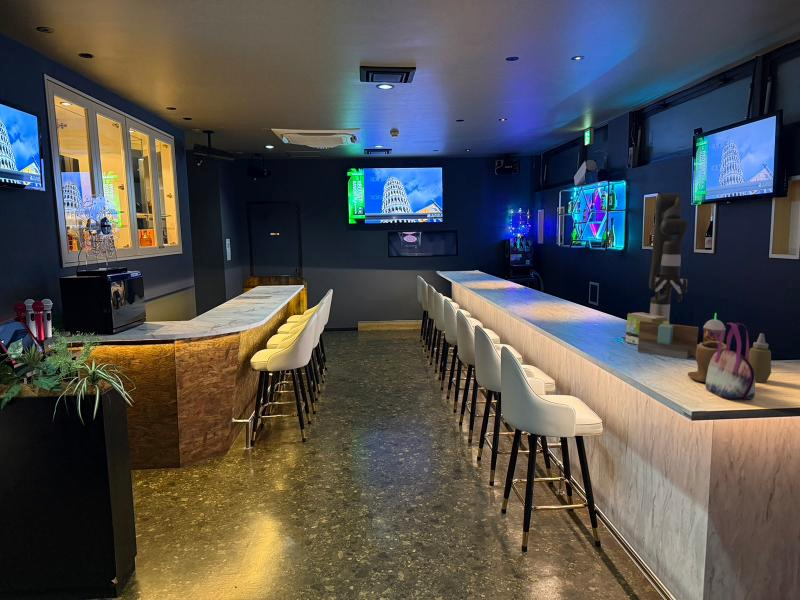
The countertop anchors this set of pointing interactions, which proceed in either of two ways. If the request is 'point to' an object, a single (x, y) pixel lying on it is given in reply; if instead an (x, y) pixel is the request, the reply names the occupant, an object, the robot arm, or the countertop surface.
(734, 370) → the handbag
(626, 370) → the countertop surface
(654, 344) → the wall board
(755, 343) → the squeeze bottle
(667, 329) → the cabinet
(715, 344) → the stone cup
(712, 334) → the smoothie
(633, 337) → the tea box
